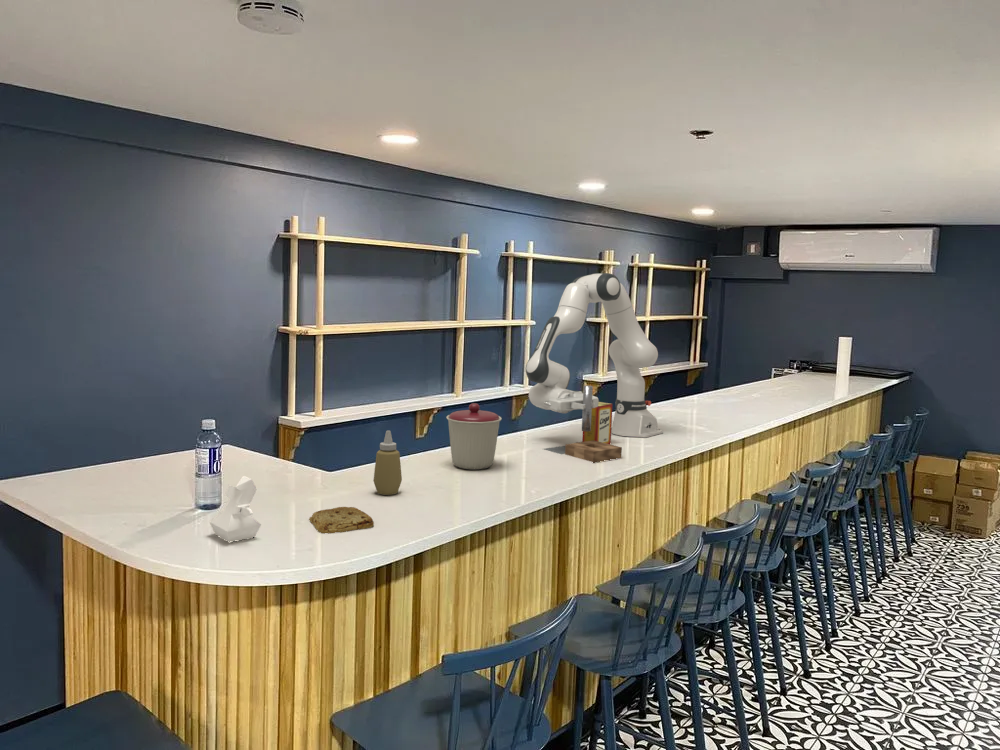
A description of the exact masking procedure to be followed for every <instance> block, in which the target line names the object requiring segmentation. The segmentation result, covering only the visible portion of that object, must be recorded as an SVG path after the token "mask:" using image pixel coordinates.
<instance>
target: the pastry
mask: <svg viewBox="0 0 1000 750" xmlns="http://www.w3.org/2000/svg"><path fill="white" fill-rule="evenodd" d="M308 520H310V521H309V522H310V523H311V524H312V525H313V527H314V526H315V527H314V529H315V530H316V531H317V530H318V531H317V532H318V533H320V532H321V533H320V534H325V533H328V534H336V533H335V532H340V533H346V531H347V532H350V531H351V532H352V531H357V530H358V529H359V530H365V529H370V528H374V524H375V523H374V520H373V518H372V517H371V516H370V515H369V514H367V513H366V512H364V511H362V510H361V509H358V508H357V507H355V506H338V507H333V508H327V509H321V510H317V511H315V512H313V513H312V515H311V516H310V517H309V518H308Z"/></svg>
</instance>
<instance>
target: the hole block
mask: <svg viewBox="0 0 1000 750" xmlns="http://www.w3.org/2000/svg"><path fill="white" fill-rule="evenodd" d="M564 446H565V454H564V455H566V456H569V457H573V458H577V459H579V460H584V461H588V462H591V463H592V462H593V463H592V464H596V463H595V462H597V463H601V462H600V461H603V462H605V461H604V460H609V461H611V460H610V459H615V460H617V459H616V458H621V459H622V447H621V446H618V445H613V444H606V443H602V442H598V441H594V440H592V441H586V442H582V441H580V442H572V443H567V444H565V445H564Z"/></svg>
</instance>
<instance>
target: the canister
mask: <svg viewBox="0 0 1000 750" xmlns="http://www.w3.org/2000/svg"><path fill="white" fill-rule="evenodd" d="M480 407H481V406H480V405H479V404H478V403H476V402H475V403H471V404H469V405H468V409H464V410H457V411H453V412H451V413H450V414H448V415H447V416H445V417H446V419H447V421H448V433H449V443H450V454H451V459H452V463H453V465H454V466H455V467H457V468H459V469H462V470H471V471H473V470H474V471H475V470H478V471H479V470H484V469H487V468H490V467H491V466H492V465H493V463H494V460H495V455H496V449H497V448H496V447H497V442H498V435H499V429H500V422H501V421H502V416H500V415H498V414H497V413H495V412H492V411H490V410H489V411H488V410H481V408H480Z"/></svg>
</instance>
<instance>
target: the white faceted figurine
mask: <svg viewBox="0 0 1000 750" xmlns="http://www.w3.org/2000/svg"><path fill="white" fill-rule="evenodd" d="M256 491H257V487H256V485H255V483H254V481H253V479H252V478H251V477H248V476H246V475H243V476H242V477H241V478H240V480H239V481H238V483H237V484H236V486H233V485H231V484H228V486H227V488H226V491H225V494H224V496H225V497H226V498H229V499H228V501H227V503H226V505H225V506H224V509H223V510H222V511H220V512H219V513H218V514H217V515H216V516H214V517H213V518H212V519H210V520H209V521H208V522H209V524H210V527H211V528H212V530H213V532H214V534H215V536H216V535H218V536H220V537H221V538H223V539H225V540H227V541H229V542H230V541H235V540H242V539H247V538H251V539H254V538H253V537H255V538H256V536H257V534H258V533H259V530H260V528H261V526H262V524H261V523H260V522H259V521H257V519H255V517H253V514H254V512H253V510H252V509H251V508H250V505H251V502H252V500H253V499H254V497H255V495H256ZM218 536H217V537H218ZM221 538H220V539H221ZM223 539H222V540H223ZM225 540H224V541H225ZM247 540H248V539H247ZM242 541H243V540H242Z"/></svg>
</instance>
